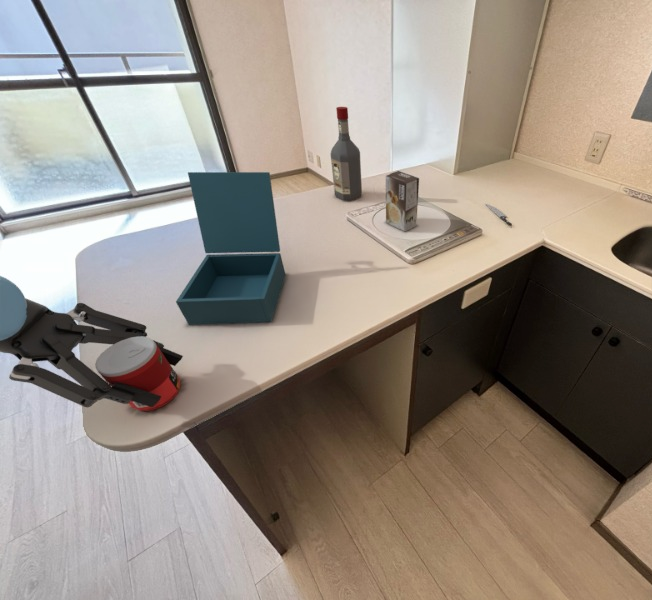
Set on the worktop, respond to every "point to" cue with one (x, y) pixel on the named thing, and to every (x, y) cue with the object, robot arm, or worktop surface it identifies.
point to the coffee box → (401, 200)
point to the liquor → (346, 162)
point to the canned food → (139, 369)
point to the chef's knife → (499, 214)
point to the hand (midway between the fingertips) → (168, 380)
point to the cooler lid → (235, 211)
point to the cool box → (233, 289)
